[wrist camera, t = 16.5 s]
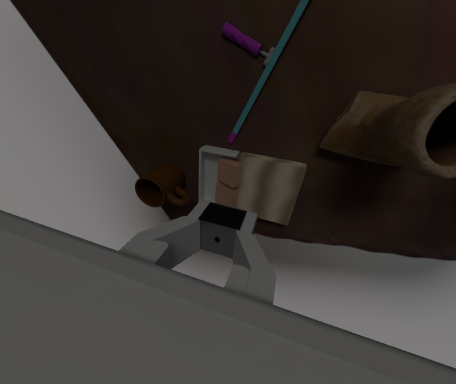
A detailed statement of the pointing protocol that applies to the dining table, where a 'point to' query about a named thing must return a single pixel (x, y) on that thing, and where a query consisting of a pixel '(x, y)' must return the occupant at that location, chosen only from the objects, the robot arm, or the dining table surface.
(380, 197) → the dining table surface
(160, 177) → the mug
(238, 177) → the tile
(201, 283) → the robot arm
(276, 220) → the board
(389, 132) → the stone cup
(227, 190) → the tile
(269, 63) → the squeegee
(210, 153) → the tray
